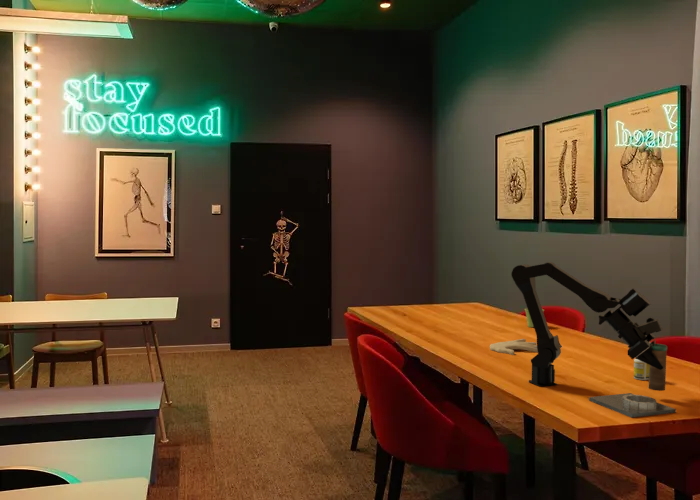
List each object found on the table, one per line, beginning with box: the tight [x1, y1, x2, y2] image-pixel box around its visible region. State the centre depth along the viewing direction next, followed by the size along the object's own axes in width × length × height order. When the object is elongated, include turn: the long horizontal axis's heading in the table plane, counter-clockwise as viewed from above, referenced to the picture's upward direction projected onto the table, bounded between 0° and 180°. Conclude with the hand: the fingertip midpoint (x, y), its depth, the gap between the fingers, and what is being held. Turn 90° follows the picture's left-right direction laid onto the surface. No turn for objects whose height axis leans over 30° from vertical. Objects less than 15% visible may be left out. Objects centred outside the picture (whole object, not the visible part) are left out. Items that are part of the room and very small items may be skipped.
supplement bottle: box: [633, 357, 649, 381], centre depth 215 cm, size 5×5×8 cm
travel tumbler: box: [648, 343, 668, 392], centre depth 190 cm, size 5×5×13 cm
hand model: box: [489, 338, 538, 356], centre depth 260 cm, size 19×5×20 cm
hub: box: [588, 392, 677, 419], centre depth 182 cm, size 15×17×3 cm
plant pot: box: [524, 307, 545, 328], centre depth 318 cm, size 9×9×9 cm
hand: (662, 367), depth 189 cm, fingers closed on travel tumbler, 4 cm apart
